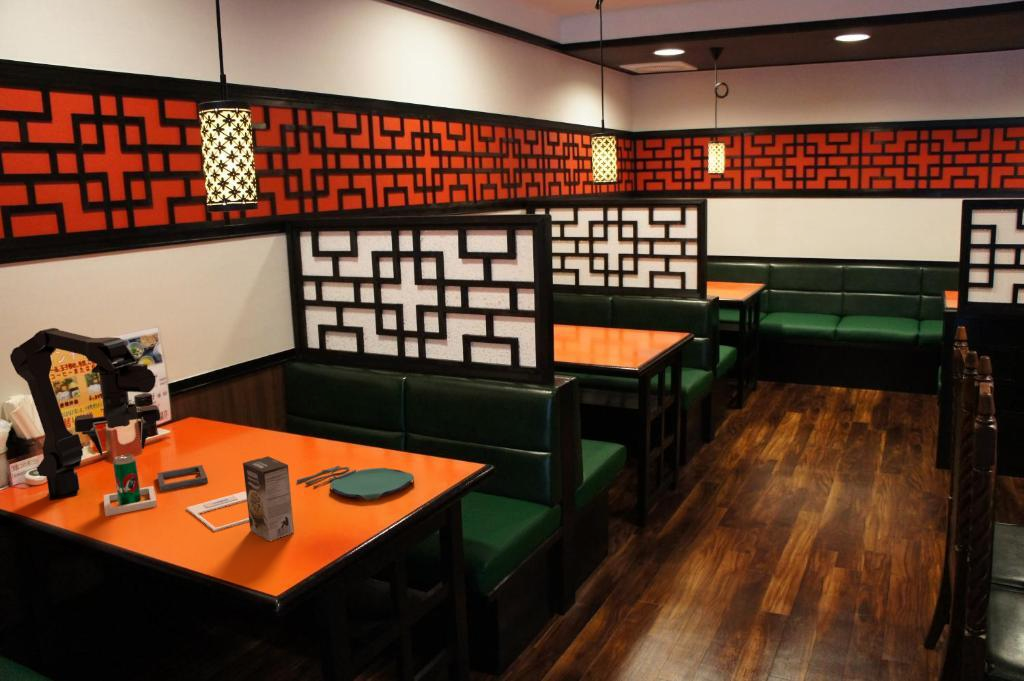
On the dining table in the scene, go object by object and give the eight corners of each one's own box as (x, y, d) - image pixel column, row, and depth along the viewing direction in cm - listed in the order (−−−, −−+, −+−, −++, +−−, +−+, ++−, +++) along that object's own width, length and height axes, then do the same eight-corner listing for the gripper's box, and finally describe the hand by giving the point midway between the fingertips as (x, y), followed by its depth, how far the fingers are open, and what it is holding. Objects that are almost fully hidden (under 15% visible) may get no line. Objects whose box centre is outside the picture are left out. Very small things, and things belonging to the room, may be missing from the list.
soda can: (145, 499, 206) (139, 453, 204) (134, 507, 201) (127, 460, 199) (126, 499, 207) (119, 453, 204) (114, 507, 202) (108, 460, 199)
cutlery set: (372, 509, 194) (371, 499, 194) (289, 487, 212) (288, 479, 212) (428, 483, 210) (427, 474, 210) (347, 465, 228) (346, 457, 227)
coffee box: (248, 531, 184) (241, 462, 181) (275, 522, 189) (268, 454, 186) (269, 542, 178) (261, 471, 175) (295, 533, 182) (288, 463, 179)
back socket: (161, 491, 211) (160, 486, 211) (157, 478, 221) (156, 473, 221) (207, 482, 216) (207, 477, 216) (202, 470, 226) (201, 465, 226)
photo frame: (244, 490, 208) (275, 510, 194) (245, 494, 208) (276, 514, 194) (186, 506, 198) (214, 528, 185) (186, 511, 199) (214, 533, 185)
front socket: (105, 516, 196) (104, 510, 196) (104, 500, 206) (103, 494, 206) (157, 506, 201) (156, 500, 201) (153, 491, 211) (153, 485, 211)
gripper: (70, 403, 189) (79, 468, 192) (158, 392, 197) (165, 454, 200) (71, 393, 199) (80, 454, 202) (155, 382, 207) (162, 442, 210)
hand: (122, 451), depth 203 cm, fingers open, 9 cm apart
